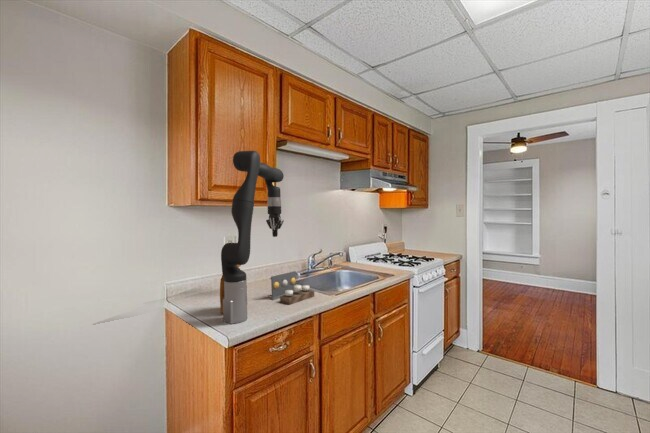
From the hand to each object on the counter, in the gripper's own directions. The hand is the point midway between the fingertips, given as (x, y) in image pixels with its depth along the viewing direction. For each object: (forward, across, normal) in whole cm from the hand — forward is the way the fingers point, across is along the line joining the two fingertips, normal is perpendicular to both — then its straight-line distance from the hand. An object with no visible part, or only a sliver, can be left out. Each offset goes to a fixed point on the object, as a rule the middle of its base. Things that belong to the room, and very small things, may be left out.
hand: (275, 236), depth 172 cm
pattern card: (+32, +7, 0) cm, 33 cm away
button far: (+28, +17, +6) cm, 34 cm away
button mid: (+27, +18, 0) cm, 32 cm away
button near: (+28, +17, -6) cm, 34 cm away
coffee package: (+32, +7, -31) cm, 45 cm away
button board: (+32, +18, 0) cm, 36 cm away
